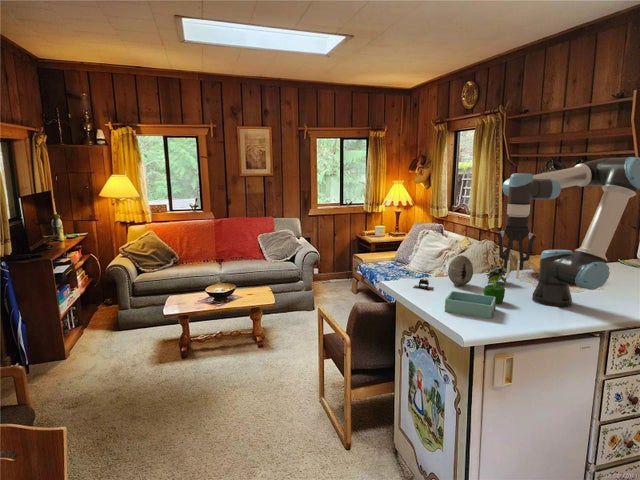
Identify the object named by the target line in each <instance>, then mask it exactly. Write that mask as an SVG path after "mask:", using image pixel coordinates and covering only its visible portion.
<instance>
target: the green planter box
mask: <svg viewBox="0 0 640 480" xmlns="http://www.w3.org/2000/svg"><path fill="white" fill-rule="evenodd" d="M495 299H496V297H493V296H485V295H484V294H477V293H471V292H470V293H469V292H464V291H463V292H462V291H454V290H451V291H450V292H449V294H448V295H447V296H446V298H445V302H444V313H445V312H448V313H453V314H459V315H464V316H465V315H466V316H469V317H472V316H473V317H476V318H477V317H478V318H482V319H490V320H491V319H492V318H493V317H494V312H495V310H496V304H495Z"/></svg>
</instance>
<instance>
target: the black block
mask: <svg viewBox="0 0 640 480" xmlns="http://www.w3.org/2000/svg"><path fill="white" fill-rule="evenodd" d="M429 285H430V281H429V279H427V278H426V279H425V278H420V279H419V282H418V285H417V284H416V285H413V287H412V289H417V290H428V291H433V290H434V288H435V287H434V286H433V287H432V286H429Z"/></svg>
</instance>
